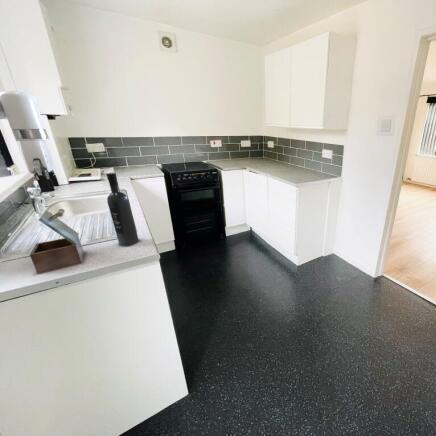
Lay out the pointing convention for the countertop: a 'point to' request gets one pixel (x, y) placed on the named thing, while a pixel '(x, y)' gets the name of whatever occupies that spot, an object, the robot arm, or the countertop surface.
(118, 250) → the countertop surface
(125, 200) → the wine bottle
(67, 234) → the lid
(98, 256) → the countertop surface
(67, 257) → the chest
